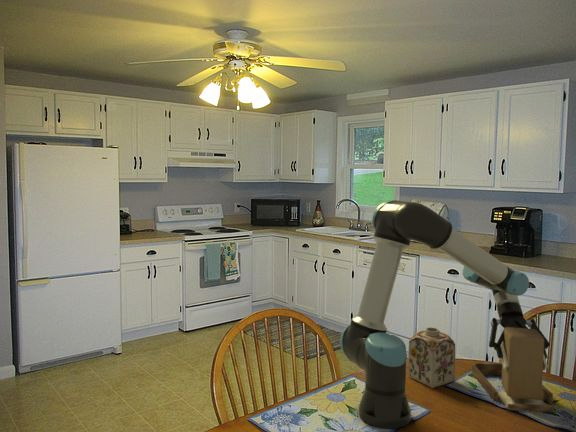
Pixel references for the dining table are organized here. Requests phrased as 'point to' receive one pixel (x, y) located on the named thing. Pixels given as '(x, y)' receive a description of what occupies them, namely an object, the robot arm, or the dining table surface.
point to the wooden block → (523, 363)
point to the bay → (510, 402)
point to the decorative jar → (431, 358)
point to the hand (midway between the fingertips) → (525, 368)
